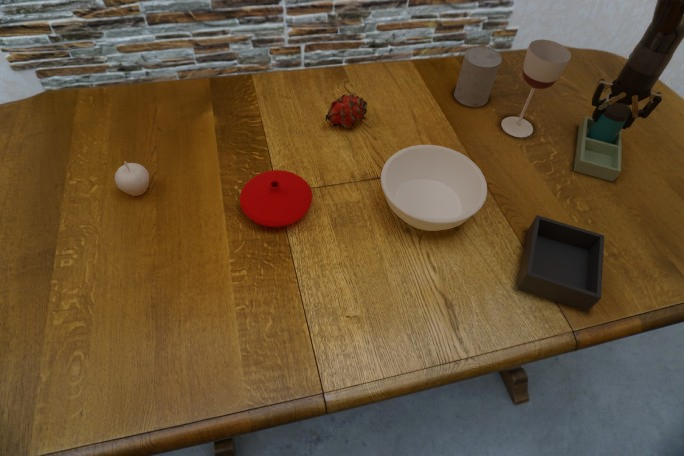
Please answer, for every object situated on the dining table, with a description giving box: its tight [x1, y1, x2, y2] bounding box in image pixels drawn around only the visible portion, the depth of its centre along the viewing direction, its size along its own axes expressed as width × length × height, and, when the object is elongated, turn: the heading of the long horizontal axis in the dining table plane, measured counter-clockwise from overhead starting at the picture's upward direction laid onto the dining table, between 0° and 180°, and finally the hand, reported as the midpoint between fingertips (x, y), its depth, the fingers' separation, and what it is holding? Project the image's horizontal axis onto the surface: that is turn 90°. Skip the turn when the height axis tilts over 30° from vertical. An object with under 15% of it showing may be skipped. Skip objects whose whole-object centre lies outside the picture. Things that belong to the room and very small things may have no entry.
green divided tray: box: [573, 115, 623, 182], centre depth 115 cm, size 9×18×4 cm, turn 159°
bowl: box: [380, 144, 488, 232], centre depth 100 cm, size 22×22×8 cm
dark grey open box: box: [516, 214, 605, 313], centre depth 92 cm, size 14×16×6 cm
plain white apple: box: [114, 161, 150, 197], centre depth 101 cm, size 7×7×8 cm
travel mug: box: [588, 102, 632, 144], centre depth 114 cm, size 6×6×9 cm
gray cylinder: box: [453, 45, 503, 108], centre depth 124 cm, size 10×10×12 cm
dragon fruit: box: [324, 93, 368, 130], centre depth 117 cm, size 8×8×12 cm
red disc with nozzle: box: [239, 169, 313, 228], centre depth 100 cm, size 16×16×7 cm
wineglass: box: [500, 39, 572, 138], centre depth 113 cm, size 9×10×22 cm
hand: (609, 123), depth 114 cm, fingers closed on travel mug, 6 cm apart
